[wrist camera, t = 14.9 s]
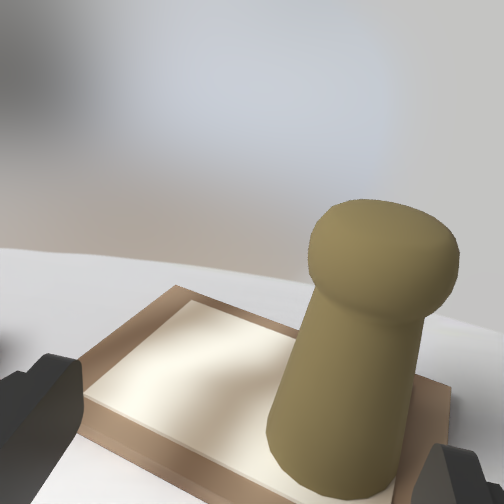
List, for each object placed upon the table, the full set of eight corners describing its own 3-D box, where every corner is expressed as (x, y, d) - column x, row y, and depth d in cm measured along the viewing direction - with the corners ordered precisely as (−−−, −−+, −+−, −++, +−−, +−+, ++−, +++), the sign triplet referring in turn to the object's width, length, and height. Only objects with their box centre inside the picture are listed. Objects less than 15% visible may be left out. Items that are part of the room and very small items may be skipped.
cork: (416, 430, 21) (500, 216, 16) (370, 532, 17) (466, 276, 12) (305, 371, 24) (347, 172, 19) (238, 444, 19) (271, 207, 14)
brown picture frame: (446, 397, 25) (452, 384, 25) (428, 622, 15) (438, 606, 15) (174, 294, 31) (175, 282, 30) (31, 408, 21) (29, 392, 20)
